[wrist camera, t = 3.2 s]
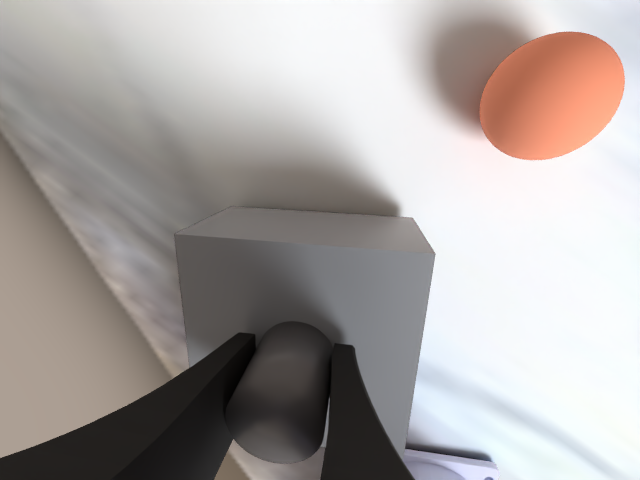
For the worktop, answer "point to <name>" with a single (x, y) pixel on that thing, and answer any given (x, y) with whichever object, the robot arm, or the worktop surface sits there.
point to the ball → (552, 95)
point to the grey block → (306, 316)
